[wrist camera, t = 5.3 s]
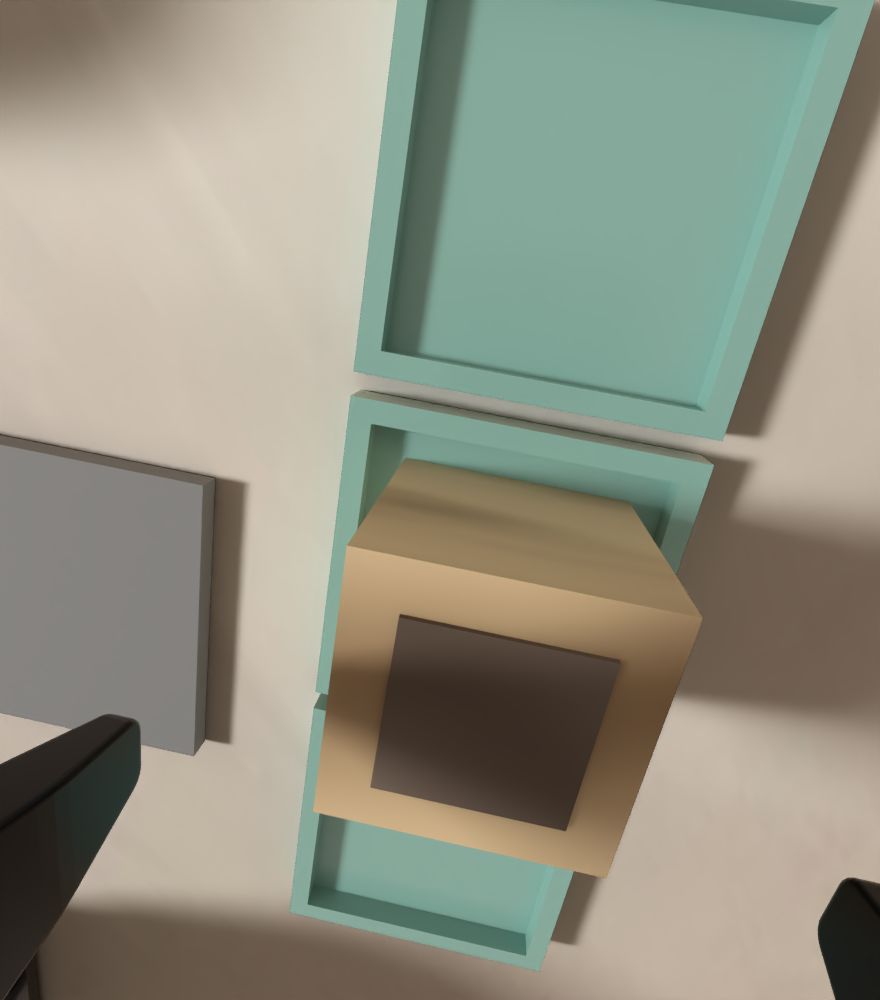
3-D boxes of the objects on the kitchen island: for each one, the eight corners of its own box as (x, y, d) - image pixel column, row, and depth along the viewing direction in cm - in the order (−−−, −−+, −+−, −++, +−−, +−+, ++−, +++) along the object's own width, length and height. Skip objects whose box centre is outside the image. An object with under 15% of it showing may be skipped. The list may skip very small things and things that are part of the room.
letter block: (572, 688, 14) (607, 884, 9) (376, 646, 14) (310, 816, 10) (628, 501, 12) (705, 621, 8) (405, 457, 13) (344, 548, 8)
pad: (204, 740, 16) (193, 756, 16) (-58, 682, 17) (-78, 695, 16) (215, 478, 14) (203, 485, 13) (-96, 415, 14) (-122, 420, 14)
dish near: (707, 432, 12) (722, 441, 11) (363, 366, 12) (353, 371, 12) (851, 3, 10) (884, -27, 9) (417, -64, 10) (408, -98, 9)
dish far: (537, 939, 17) (539, 971, 17) (300, 883, 18) (289, 912, 17) (602, 746, 15) (608, 772, 14) (324, 685, 15) (314, 708, 14)
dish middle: (607, 730, 15) (613, 756, 14) (326, 670, 15) (315, 692, 14) (699, 454, 12) (714, 465, 11) (361, 389, 13) (350, 396, 12)
